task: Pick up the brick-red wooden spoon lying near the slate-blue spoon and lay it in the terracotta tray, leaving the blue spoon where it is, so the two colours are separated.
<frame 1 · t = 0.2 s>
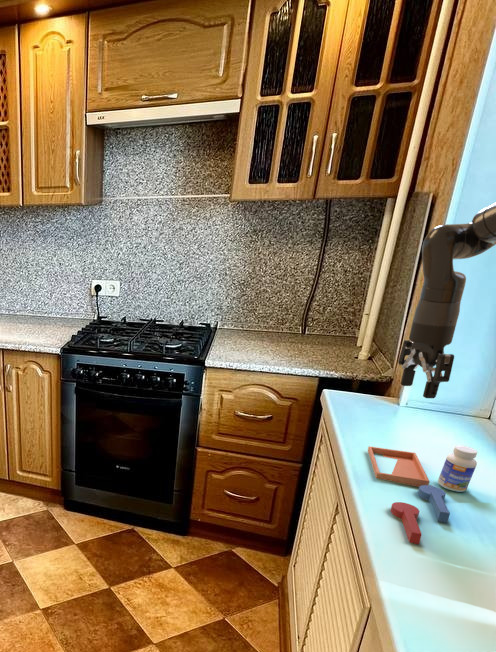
hand: (417, 391, 119), 22 cm above the worktop, tool pointing down, fingers open, 8 cm apart
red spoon: (407, 525, 109), on the worktop
blue spoon: (434, 505, 115), on the worktop
tray: (395, 469, 131), on the worktop
pill bottle: (451, 486, 122), on the worktop
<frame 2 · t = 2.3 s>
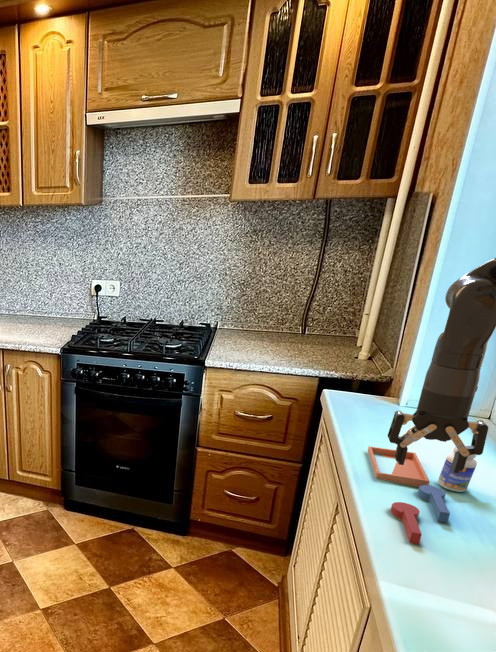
hand: (426, 467, 102), 15 cm above the worktop, tool pointing down, fingers open, 8 cm apart
nothing on the worktop moved.
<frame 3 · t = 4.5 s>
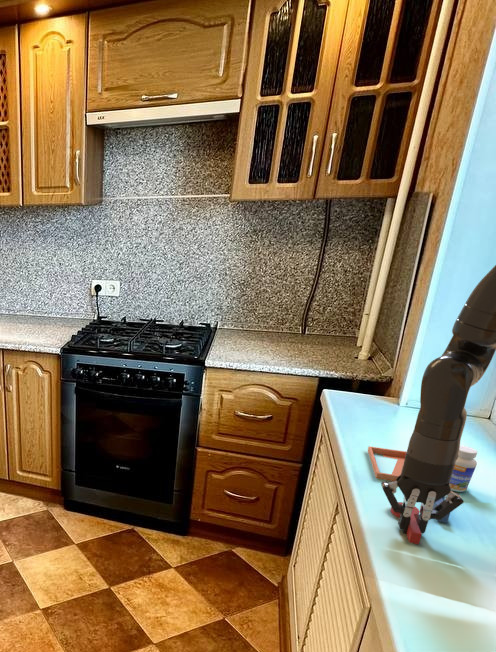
hand: (410, 531, 106), 0 cm above the worktop, tool pointing down, fingers closed on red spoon, 1 cm apart
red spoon: (407, 525, 109), on the worktop, touching gripper
everything else where it was.
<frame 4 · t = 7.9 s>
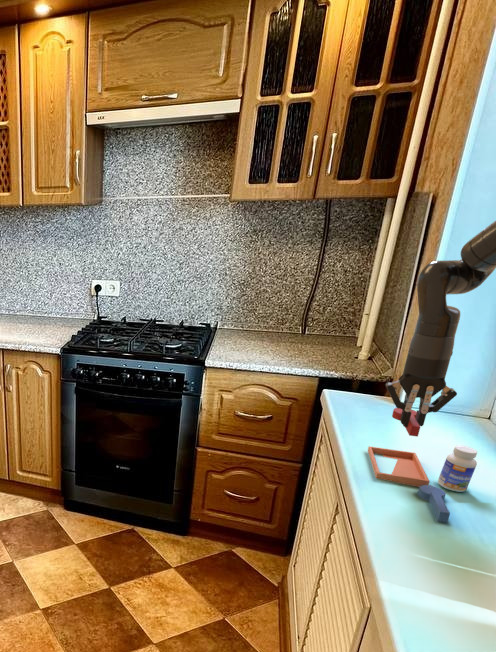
hand: (410, 426, 121), 14 cm above the worktop, tool pointing down, fingers closed on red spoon, 1 cm apart
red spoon: (407, 424, 124), point 13 cm above the worktop, touching gripper
everything else where it was.
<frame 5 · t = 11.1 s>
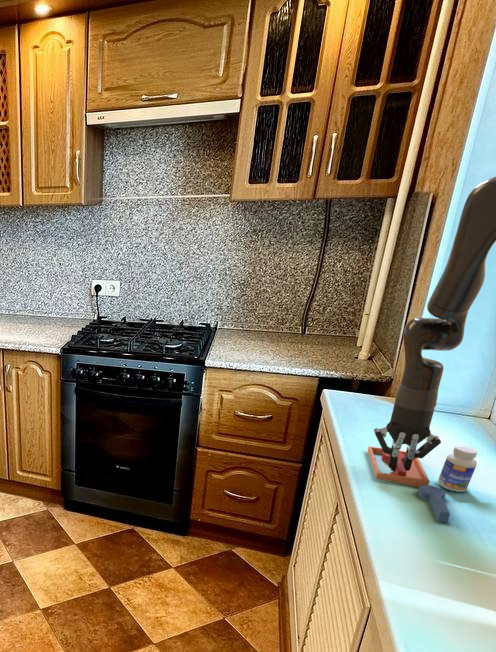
hand: (397, 470, 128), 1 cm above the worktop, tool pointing down, fingers closed on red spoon, 1 cm apart
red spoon: (395, 467, 130), point 1 cm above the worktop, touching gripper
everything else where it was.
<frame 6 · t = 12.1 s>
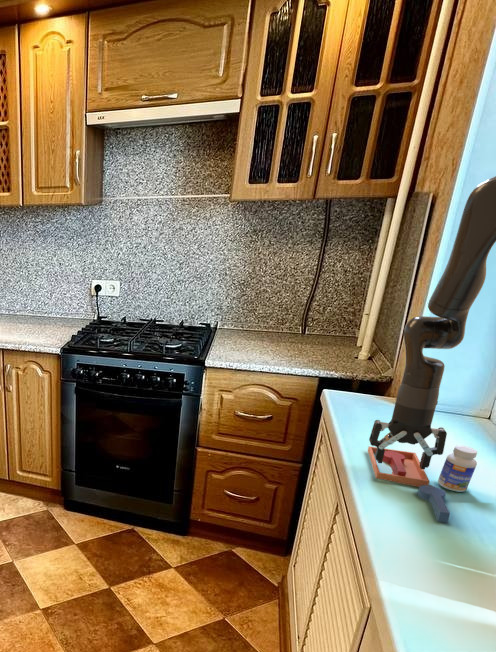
hand: (400, 464, 127), 3 cm above the worktop, tool pointing down, fingers open, 8 cm apart
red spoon: (394, 468, 131), resting on tray
everything else where it was.
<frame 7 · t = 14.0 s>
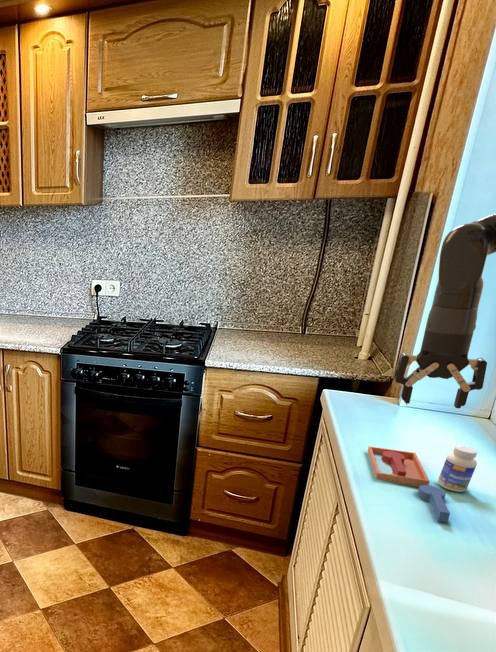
hand: (431, 404, 110), 23 cm above the worktop, tool pointing down, fingers open, 8 cm apart
nothing on the worktop moved.
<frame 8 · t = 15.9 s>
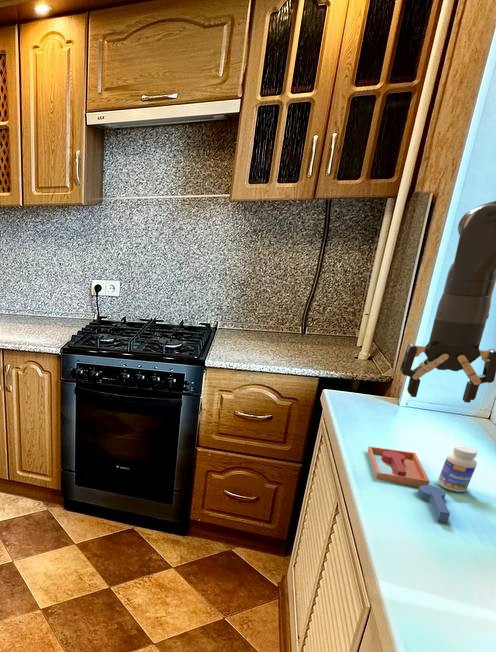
hand: (438, 398, 104), 26 cm above the worktop, tool pointing down, fingers open, 8 cm apart
nothing on the worktop moved.
at the end: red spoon inside the target area on the tray (0.2 cm from its centre), point 0.5 cm above the tray's base; blue spoon moved 0.0 cm from its start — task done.
